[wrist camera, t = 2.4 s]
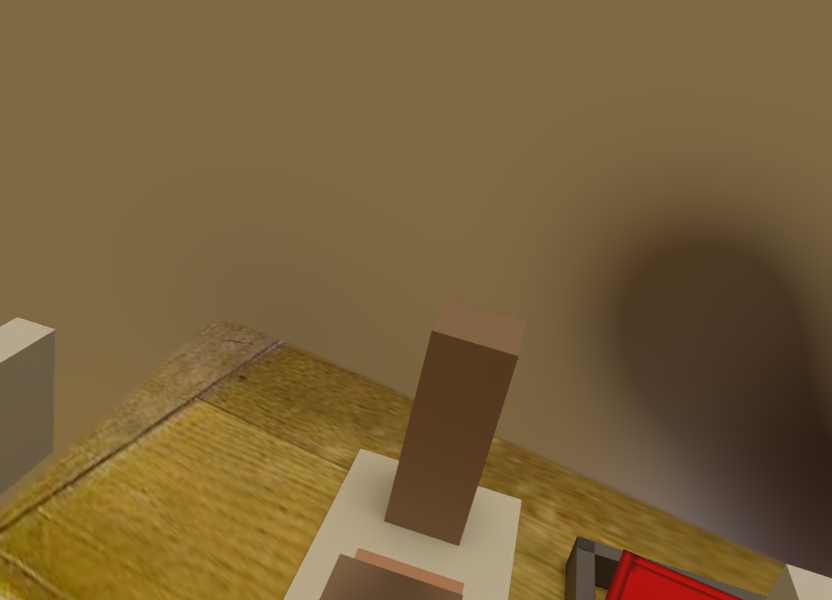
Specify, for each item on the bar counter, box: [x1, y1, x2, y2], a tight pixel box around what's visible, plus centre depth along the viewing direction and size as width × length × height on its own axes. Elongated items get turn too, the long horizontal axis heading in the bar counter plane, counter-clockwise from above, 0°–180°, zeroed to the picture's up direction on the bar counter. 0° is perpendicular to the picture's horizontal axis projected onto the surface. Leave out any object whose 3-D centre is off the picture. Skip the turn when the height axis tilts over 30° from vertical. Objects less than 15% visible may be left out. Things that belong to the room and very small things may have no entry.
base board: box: [283, 298, 525, 600], centre depth 42 cm, size 12×18×17 cm, turn 167°
